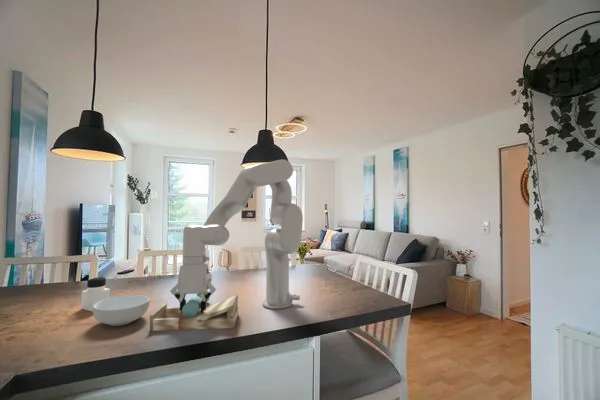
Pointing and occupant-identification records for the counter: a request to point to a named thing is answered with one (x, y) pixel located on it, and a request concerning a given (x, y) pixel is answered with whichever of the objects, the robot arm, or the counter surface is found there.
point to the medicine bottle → (94, 293)
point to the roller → (192, 307)
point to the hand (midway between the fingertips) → (192, 311)
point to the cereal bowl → (120, 309)
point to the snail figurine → (206, 291)
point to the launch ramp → (196, 317)
